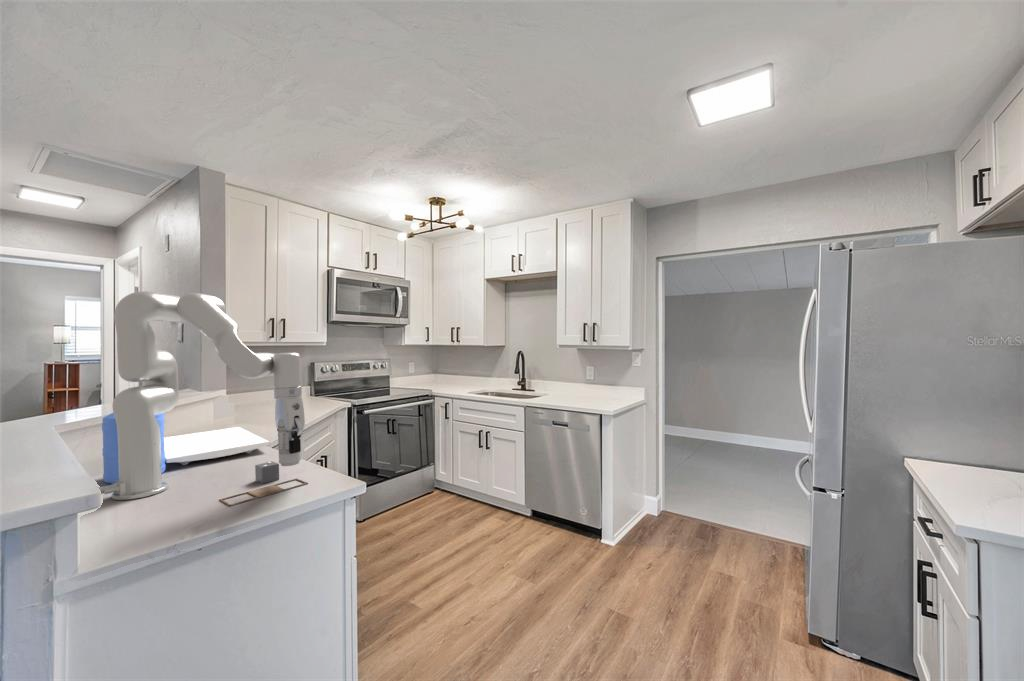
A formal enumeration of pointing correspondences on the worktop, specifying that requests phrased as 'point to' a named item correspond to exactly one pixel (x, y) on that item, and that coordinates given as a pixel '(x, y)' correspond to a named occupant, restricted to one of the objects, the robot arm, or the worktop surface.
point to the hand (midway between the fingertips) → (289, 450)
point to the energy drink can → (286, 447)
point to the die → (267, 472)
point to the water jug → (112, 447)
